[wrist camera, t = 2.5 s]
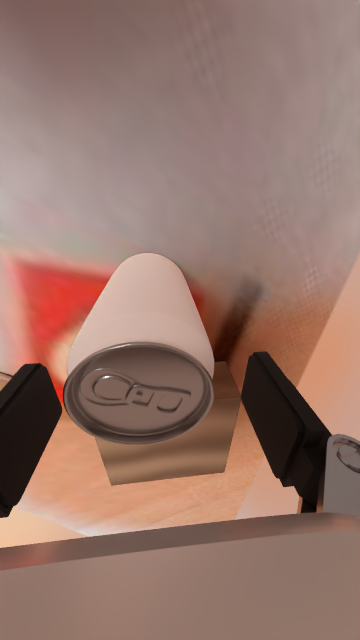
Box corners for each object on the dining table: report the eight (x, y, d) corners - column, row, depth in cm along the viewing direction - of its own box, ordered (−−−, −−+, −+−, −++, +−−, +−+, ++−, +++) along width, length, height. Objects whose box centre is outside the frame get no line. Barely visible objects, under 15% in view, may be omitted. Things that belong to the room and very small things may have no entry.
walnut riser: (99, 369, 22) (85, 410, 18) (225, 361, 23) (241, 397, 19) (117, 443, 29) (111, 485, 25) (214, 433, 30) (224, 472, 26)
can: (124, 238, 16) (65, 303, 5) (198, 269, 18) (258, 363, 7) (103, 307, 19) (38, 440, 8) (169, 328, 20) (183, 458, 10)
